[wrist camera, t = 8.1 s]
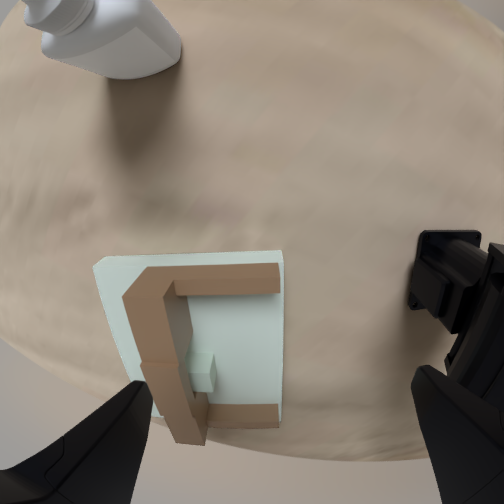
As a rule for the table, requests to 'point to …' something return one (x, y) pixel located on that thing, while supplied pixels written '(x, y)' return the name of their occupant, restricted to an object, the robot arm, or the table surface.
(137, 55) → the eye dropper bottle
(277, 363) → the stand
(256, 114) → the table surface
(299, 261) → the table surface
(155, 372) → the brown c-shaped bracket
